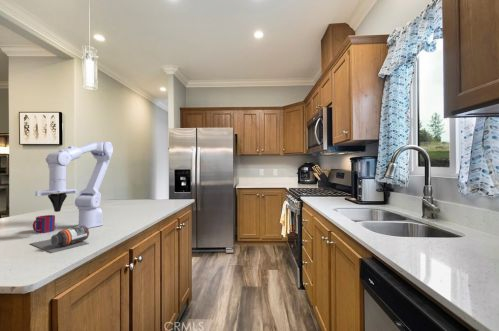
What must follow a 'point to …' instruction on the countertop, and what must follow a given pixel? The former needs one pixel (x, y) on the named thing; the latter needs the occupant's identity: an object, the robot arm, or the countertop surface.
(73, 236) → the supplement bottle
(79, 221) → the robot arm
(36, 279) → the countertop surface
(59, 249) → the mat
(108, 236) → the countertop surface
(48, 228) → the mug
